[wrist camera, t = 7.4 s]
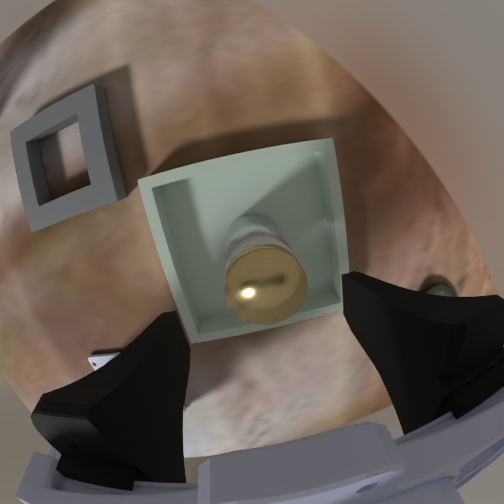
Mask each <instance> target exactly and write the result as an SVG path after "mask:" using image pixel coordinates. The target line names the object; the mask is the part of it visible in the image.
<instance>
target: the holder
mask: <svg viewBox="0 0 504 504" xmlns="http://www.w3.org/2000/svg"><path fill="white" fill-rule="evenodd" d="M76 122H78V123H79V129H80V135H81V140H82V146H83V151H84V156H85V160H86V165H87V169H88V174H89V178H90V182H91V185H89V186H86V187H84V188H81V189H79V190H76V191H74V192H71V193H69V194H66V195H64V196H62V197H59V198H57V199H55V200H52V201H51V197H50V193H49V189H48V185H47V180H46V176H45V171H44V166H43V161H42V156H41V150H40V144H39V142H40V141H41V140H43V139H45V138H47V137H49V136H50V135H52V134H54V133H56V132H58V131H60V130H62V129H64V128H66V127H68V126H70V125H72V124H74V123H76ZM10 136H11V144H12V151H13V158H14V164H15V169H16V174H17V179H18V184H19V189H20V193H21V197H22V201H23V205H24V209H25V213H26V216H27V220H28V223H29V226H30V230H31V233H33V232H35V231H37V230H40V229H42V228H45V227H47V226H50V225H52V224H55V223H57V222H60V221H63V220H65V219H68V218H71V217H73V216H76V215H79V214H81V213H84V212H87V211H90V210H93V209H96V208H99V207H101V206H104V205H107V204H110V203H113V202H117V201H119V200H121V199H123V198H126V197H127V193H126V189H125V186H124V182H123V178H122V174H121V169H120V165H119V161H118V156H117V152H116V147H115V142H114V138H113V132H112V127H111V122H110V116H109V111H108V105H107V98H106V91H105V88H103V87H101V86H99V85H97V84H95V83H94V84H92V85H89V86H87V87H85V88H83V89H81V90H79V91H77V92H75V93H73V94H71V95H69V96H67V97H65V98H64V99H62V100H60V101H58V102H56V103H55V104H53V105H51V106H49V107H48V108H46V109H44V110H43V111H41V112H39V113H38V114H36V115H34V116H33V117H31V118H30V119H28V120H27V121H25V122H24V123H22V124H21V125H19V126H18V127H16V128H15V129H13V130H12V131H11V132H10Z"/></svg>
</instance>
